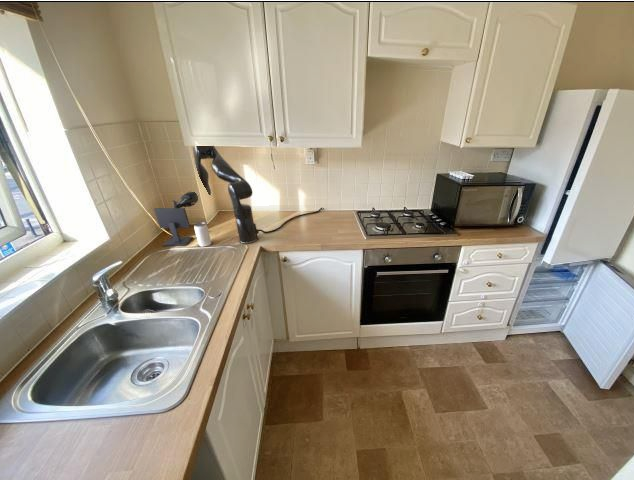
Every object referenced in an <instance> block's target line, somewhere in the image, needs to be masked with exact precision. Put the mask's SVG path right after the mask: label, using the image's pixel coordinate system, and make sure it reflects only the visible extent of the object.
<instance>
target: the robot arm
mask: <svg viewBox="0 0 634 480" xmlns="http://www.w3.org/2000/svg"><path fill="white" fill-rule="evenodd" d="M192 153H193V160H194V166H195V165H196V167H195V169H196V168H197V171H198V174H199V177H200V179H201V181H202V183H203V185H204V187H205V188H206V190H207V192H208V194H209V195H210V196H211V195H212V189H211V185H210V182H209V180H210V175H209V171H208V170H207V169H206V167H205V166H204V164H203V163H202V160H209V159H211V160H212V161H211V171H213V174H214V175H215V176H216V177H217V178H218V179H220V180H222V181H223V182H227V183H228V185H227V191H228V195H229V200H230V204H231V206H232V210H233V214H234V218H235V224H236V229H237V234H238V240H239V242H240V243H241V244H253V243H255V242H256V241H257V240H259V236H258V234H260V232H262V233H263V234H270V233H273V232H276V231H278V230H280V229H281V228H283V226H284V225H286V224H287V223H289V222H290V221H292V220H294V219H296V218H300V217H303V216H307V215H313V214H317V213H319V212H320V211H321V210H325V208H324V207H320V208H319V209H318V210H316V211H310V212H306V213H302V214H299V215H295V216H293V217H291V218H289V219H287V220H286V221H284V222H283V223H282V224H281V225H279V226H278V227H277V228H275V229H272V230H268V231H267V230H265V231H264V229H258V228H257V224H256V223H255V222H254V221H255V220H254V215H253V210H252V206H251V205H250V204H248V203H242V202H241V200H246V199H249V198H251V197H252V196H253V188H252V186H251V184H250V183H249V182H248V181H247V180H246V179H245V178H243V176H241V175H240V174H239V173H238V172H237V171H236V170H235V169H234V168H233V167H232V166H231V165H230V163H228V161H226V160H225V158H224V157H223V156H222V155H221V154H220V152H219V151H218V150H217V148H216V147H215V145H213V146H195V147H193V146H192ZM191 191H192V190H190V191H188V192H186V193H184V194H181V196H180V199H178V200H172V205H173V208H188V207H193V206H195V205H196V204H197V203H198V202H199V201H198V196H197V194H196V193H195V192H191ZM322 208H323V209H322Z"/></svg>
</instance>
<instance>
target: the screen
mask: <svg viewBox="0 0 634 480" xmlns="http://www.w3.org/2000/svg"><path fill="white" fill-rule="evenodd" d="M153 211H154V214H155V217H156V220H157V224H158V225H159V228H160V229H170V228H169V225H168V223H169V222H175V224H176V227H177V229H184V228H185V229H190V228H191V224H190V221H189V217H188V215H187V210H186V207H181V208H174V207H155V208H153Z"/></svg>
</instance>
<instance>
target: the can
mask: <svg viewBox="0 0 634 480" xmlns="http://www.w3.org/2000/svg"><path fill="white" fill-rule="evenodd" d="M193 226H194V227H193V230H194V232H195V236H196V239H197V243H198V246H199V247H202V248H203V247H209V246H211V245H212V239H211V235H210V232H209V228H208V225H207V224H206V222H203V221H201V222H196V223H195V224H194V225H193Z"/></svg>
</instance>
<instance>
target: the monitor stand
mask: <svg viewBox="0 0 634 480" xmlns="http://www.w3.org/2000/svg"><path fill="white" fill-rule="evenodd" d="M168 225H169V228H168V229H169V231H170V234H171V236H172V237H171V238H169V239H167V240H166V241H165V242H164V243H163V244H162V246H163V247H186V246H187V245H188V244H189V243H190V242H191V241H192V240H193V239H194V236H180V234H179V231H178V230H179V229H178V228H177V227H176V224H175V222H169V223H168Z"/></svg>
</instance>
